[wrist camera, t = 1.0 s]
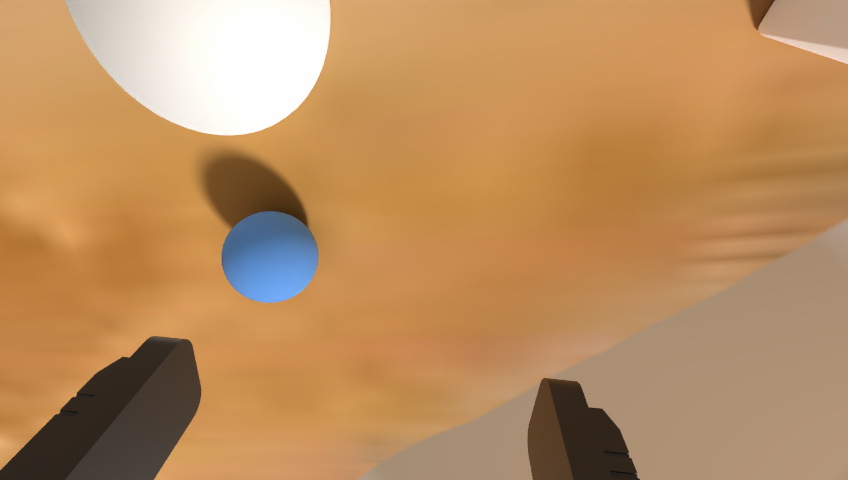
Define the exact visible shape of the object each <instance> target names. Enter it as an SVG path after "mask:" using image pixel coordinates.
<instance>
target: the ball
mask: <svg viewBox="0 0 848 480" xmlns="http://www.w3.org/2000/svg"><path fill="white" fill-rule="evenodd" d="M317 264H318V248H317V244H316V241H315V239H314V237H313V235H312V233H311V231H310V230H309V229H308V228H307V227H306V226H305V225H304V224H303V223H302V222H301V221H300V220H298V219H297V218H295V217H293V216H291V215H288V214H286V213H282V212H277V211H265V212H259V213H255V214H252V215H250V216H248V217H246V218H244V219H242V220H241V221H240V222H238V223H237V224H236V225H235V226H234V227H233V228H232V230H231V231H230V232H229V234H228V235H227V237H226V239H225V242H224V244H223V249H222V266H223V270H224V273H225V276H226V278H227V279H228V281H229V282H230V284H231V285H232V286H233V287H234V288H235V289H236V290H237V291H238V292H239V293H240V294H242V295H244V296H245V297H247V298H249V299H252V300H255V301H259V302H267V303H272V302H279V301H284V300H287V299H289V298H291V297H294V296H295V295H297V294H298V293H300V292H301V291H302V290H303V289H304V288H305V287H306V286H307V285H308V284H309V283H310V281H311V280H312V278H313V276H314V274H315V271H316V269H317Z"/></svg>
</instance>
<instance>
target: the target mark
mask: <svg viewBox="0 0 848 480" xmlns="http://www.w3.org/2000/svg"><path fill="white" fill-rule="evenodd" d="M65 1H66V4H67V7H68V10H69V12H70V14H71V16H72V18H73V20H74V23H75V25H76V27H77V29H78V30H79V32H80V34H81V36H82V37H83V39H84V41H85V43H86V44H87V46H88V47H89V49H90V50H91V52H92V53H93V55H94V56H95V57H96V59H97V60H98V62H99V63H100V64H101V65H102V66H103V68H104V69H105V70H106V71H107V72H108V74H109V75H110V76H111V77H112V78H113V79H114V80H115V81H116V82H117V83H118V84H119V85H120V86H121V87H122V88H123V89H124V90H125V91H126V92H127V93H129V94H130V95H131V96H132V97H133V98H135V99H136V100H137V101H138V102H139V103H141V104H142V105H144V106H145V107H147V108H148V109H150V110H151V111H153V112H154V113H156V114H158V115H159V116H161V117H163V118H165V119H167V120H169V121H171V122H173V123H175V124H178V125H180V126H183V127H185V128H188V129H192V130H195V131H199V132H203V133H209V134H215V135H240V134H248V133H252V132H256V131H260V130H262V129H265V128H267V127H270V126H272V125H274V124H276V123H277V122H279V121H281V120H282V119H284V118H286V117H287V116H288V115H289V114H290V113H292V112H293V111H294V110H295V109H296V108H298V106H299V105H300V104H301V103H302V102H303V101H304V100H305V98H306V97H307V96H308V95H309V93H310V91H311V90H312V88H313V87H314V85H315V83H316V81H317V79H318V77H319V75H320V73H321V70H322V68H323V65H324V61H325V58H326V54H327V51H328V44H329V38H330V26H331V9H330V0H65Z"/></svg>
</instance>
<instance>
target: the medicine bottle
mask: <svg viewBox="0 0 848 480" xmlns="http://www.w3.org/2000/svg"><path fill="white" fill-rule="evenodd" d="M758 31H759V33H760V34H761V35H762V36H765V37H768V38H771V39H774V40H777V41H780V42H783V43H786V44H789V45H792V46H795V47H798V48H801V49H804V50H807V51H810V52H813V53H816V54H819V55H822V56H825V57H828V58H831V59H834V60H837V61H840V62H843V63H846V64H848V0H774V2H773V4H772V5H771V7H770V9H769V10H768V12H767V14H766V15H765V17H764V18H763V20H762V22H761V23H760V25H759V28H758Z"/></svg>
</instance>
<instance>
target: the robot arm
mask: <svg viewBox="0 0 848 480" xmlns="http://www.w3.org/2000/svg"><path fill="white" fill-rule="evenodd" d="M200 398H201V385H200V380H199V375H198V370H197V366H196V361H195V356H194V351H193V346H192V344H191V342H190V341H189V340H186V339H177V338H168V337H158V336H153V337H150V338H149V339H147V340H146V341H145V342H144V343H143V344H142V345H141V346H140V347H139V348H138V350H137V351H136V352H135V353H134V354H133V355H132V356H131V357H130V358H127V357H122V358H120V359H119V360H117V361H115V362H114V363H112V364H110V365H109V366H107V367H106V368H104V369H102V370H101V371H99V372H97V373H96V374H95V375H94V376H93V377H92V378H91V379H90V380H89V381H88V382H87V383H86V384H85V385H84V386H83V387H82V388H81V389H80V390H79V391H78V392H77V396H76V397H72V398H71V399H70V400H69V402H68V403H67V404H66V405H65V406H64V407H63V408H62V409H61V410H60V413H59V414H56V415H55V416H54V417H53V418H52V419H51V420H50V421H49V422H48V423H47V424H46V425H45V426H44V427H43V428H42V429H41V430H40V431H39V432H38V433H37V434H36V435H35V436H34V437H33V438H32V439H31V440H30V441H29V442H28V443H27V444H26V445H25V446H24V447H23V448H22V449H21V450H20V451H19V452H18V453H17V454H16V455H15V456H14V457H13V458H12V459H11V460H10V461H9V462H8V463H7V464H6V465H5V466H4V467H3V468H2V469H1V470H0V480H154V478H155V477H156V475H157V474H158V472H159V471H160V469H161V467H162V466H163V464H164V463H165V461H166V460H167V458H168V456H169V455H170V453H171V452H172V450H173V449H174V447H175V446H176V444H177V442H178V441H179V439H180V438H181V436H182V435H183V433H184V431H185V430H186V428H187V427H188V425H189V424H190V422H191V421H192V419H193V417H194V416H195V414H196V412H197V409H198V406H199V403H200ZM528 453H529V459H530V465H531V471H532V477H533V480H640V479H638V478H637V471H636V469H635V467H634V464H633V462H632V459H631V458H629V451H628V449H627V446H626V444H625V441H624V439H623V437H622V434H621V432H620V429H619V428H618V427H617V426H616V425H615V423H614V422H613V421H612V420H611V419H610V418H609V416H608V415H607V414H606V413H605V411H604V410H603V409H598V408H589V407H588V405H587V402H586V399H585V396H584V393H583V390H582V388H581V386H580V384H579V383H578V382H577V381H567V380H558V379H548V378H544V379H543V380H542V381H541V384H540V387H539V391H538V394H537V398H536V401H535V405H534V409H533V412H532V416H531V419H530V423H529V428H528Z"/></svg>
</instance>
